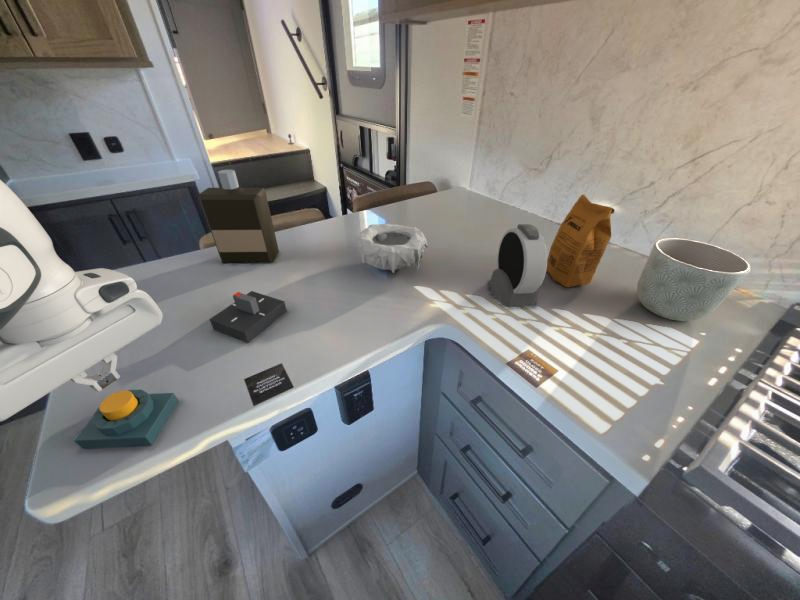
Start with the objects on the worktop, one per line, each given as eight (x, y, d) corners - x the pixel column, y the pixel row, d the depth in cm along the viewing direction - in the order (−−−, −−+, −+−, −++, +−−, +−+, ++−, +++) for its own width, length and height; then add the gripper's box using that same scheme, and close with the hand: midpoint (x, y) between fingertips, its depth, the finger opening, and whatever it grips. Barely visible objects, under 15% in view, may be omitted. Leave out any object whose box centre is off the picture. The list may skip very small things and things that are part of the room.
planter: (701, 302, 81) (740, 249, 72) (714, 341, 69) (762, 282, 60) (625, 283, 88) (652, 232, 79) (625, 315, 76) (657, 259, 67)
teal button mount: (81, 448, 47) (65, 433, 45) (117, 403, 53) (105, 387, 51) (152, 445, 48) (139, 430, 45) (178, 400, 54) (169, 385, 52)
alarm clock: (482, 277, 89) (495, 214, 78) (517, 275, 90) (534, 213, 79) (503, 312, 76) (522, 242, 65) (544, 310, 77) (568, 241, 66)
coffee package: (568, 265, 96) (596, 191, 83) (595, 287, 86) (631, 208, 73) (538, 267, 94) (561, 192, 82) (561, 289, 84) (592, 209, 72)
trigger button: (99, 421, 47) (92, 413, 45) (117, 399, 50) (110, 390, 49) (128, 420, 47) (121, 412, 46) (144, 398, 50) (138, 389, 49)
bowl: (347, 278, 87) (344, 245, 81) (365, 246, 104) (364, 216, 98) (422, 286, 85) (424, 252, 79) (428, 251, 101) (431, 221, 95)
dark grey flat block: (248, 343, 66) (244, 331, 64) (213, 329, 69) (208, 318, 67) (286, 311, 75) (284, 300, 73) (254, 300, 78) (251, 290, 76)
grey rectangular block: (259, 310, 70) (255, 296, 68) (254, 314, 69) (249, 300, 66) (242, 304, 71) (237, 291, 69) (237, 308, 70) (232, 294, 68)
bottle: (229, 251, 99) (201, 167, 84) (281, 251, 100) (262, 167, 85) (218, 264, 92) (186, 175, 78) (274, 263, 93) (253, 175, 78)
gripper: (-82, 381, 29) (26, 458, 37) (144, 272, 43) (185, 344, 52) (-109, 359, 31) (-1, 437, 39) (116, 263, 46) (160, 333, 54)
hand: (107, 383), depth 45 cm, fingers closed
